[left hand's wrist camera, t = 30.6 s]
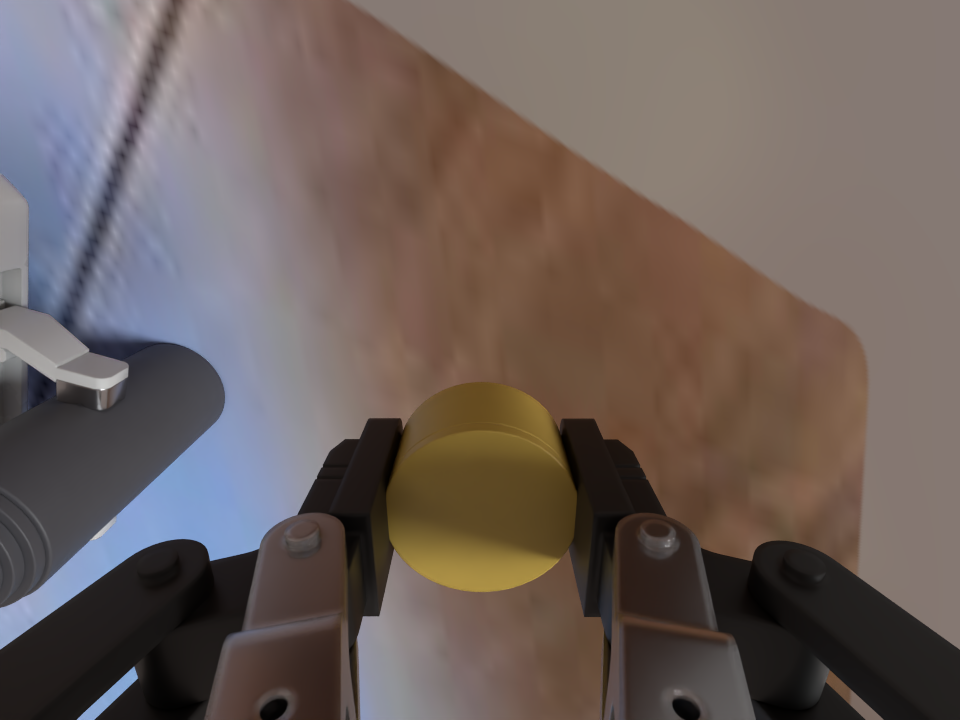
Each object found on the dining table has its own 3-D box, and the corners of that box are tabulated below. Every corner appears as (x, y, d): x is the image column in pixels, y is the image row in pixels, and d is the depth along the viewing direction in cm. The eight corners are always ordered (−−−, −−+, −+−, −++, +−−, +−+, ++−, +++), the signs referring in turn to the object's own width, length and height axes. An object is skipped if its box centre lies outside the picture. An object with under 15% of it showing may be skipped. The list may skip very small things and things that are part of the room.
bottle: (111, 348, 27) (-393, 594, 12) (208, 338, 27) (-175, 575, 11) (145, 437, 29) (-251, 752, 13) (237, 428, 29) (-60, 739, 13)
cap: (366, 461, 12) (342, 523, 10) (475, 347, 11) (473, 390, 9) (485, 548, 13) (487, 621, 11) (597, 451, 12) (621, 511, 10)
